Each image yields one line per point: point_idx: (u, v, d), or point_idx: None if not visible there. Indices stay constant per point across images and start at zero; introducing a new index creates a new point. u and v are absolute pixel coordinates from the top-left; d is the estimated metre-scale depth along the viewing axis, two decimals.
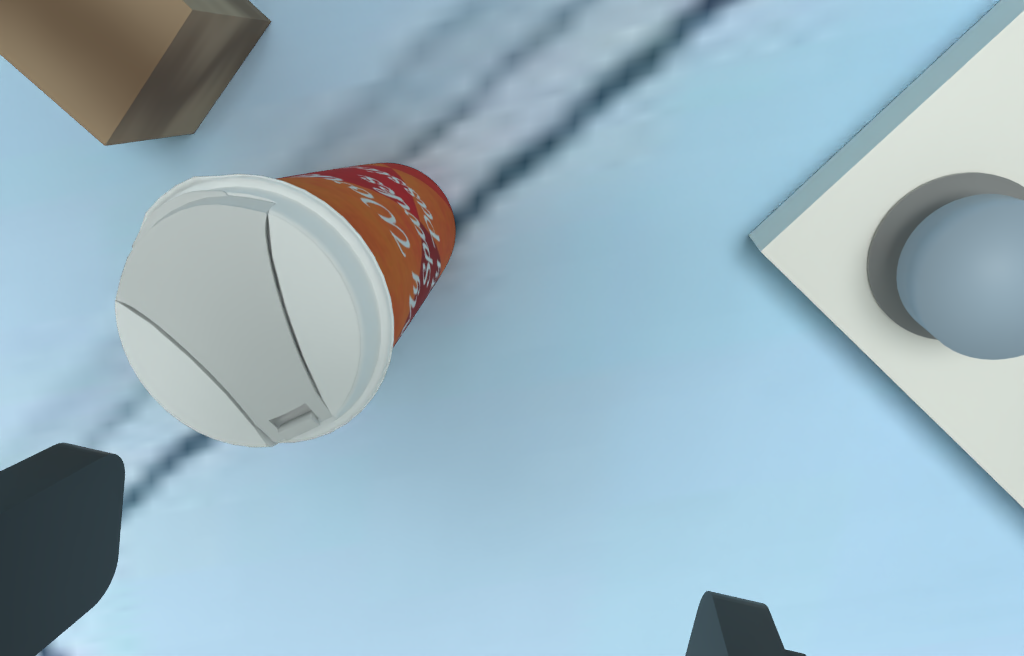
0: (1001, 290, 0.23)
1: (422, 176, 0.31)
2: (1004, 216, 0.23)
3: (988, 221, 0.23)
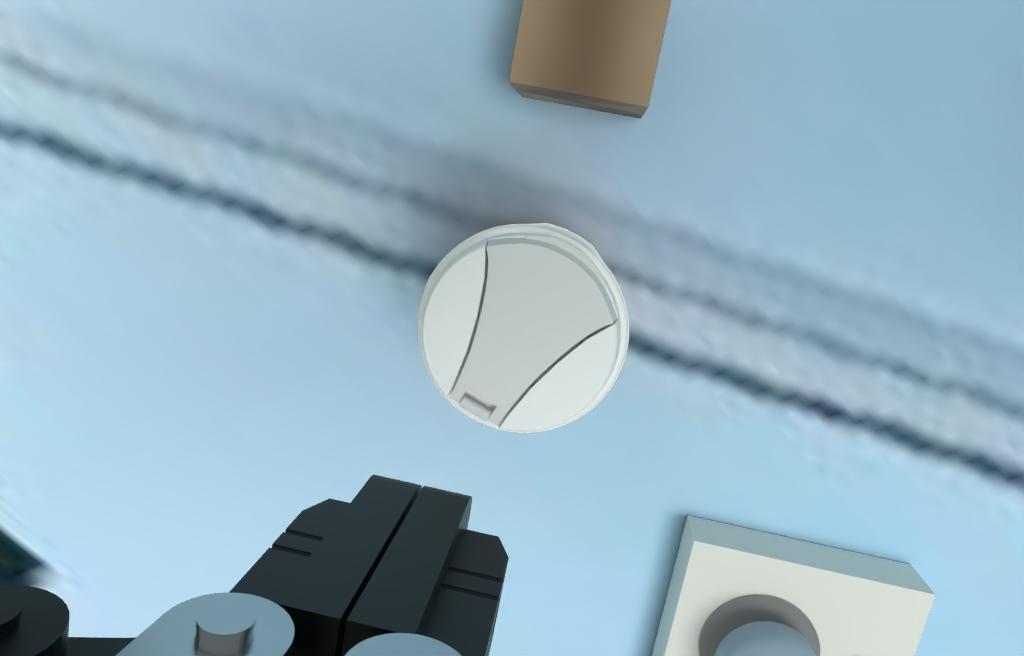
0: None
1: None
2: None
3: None
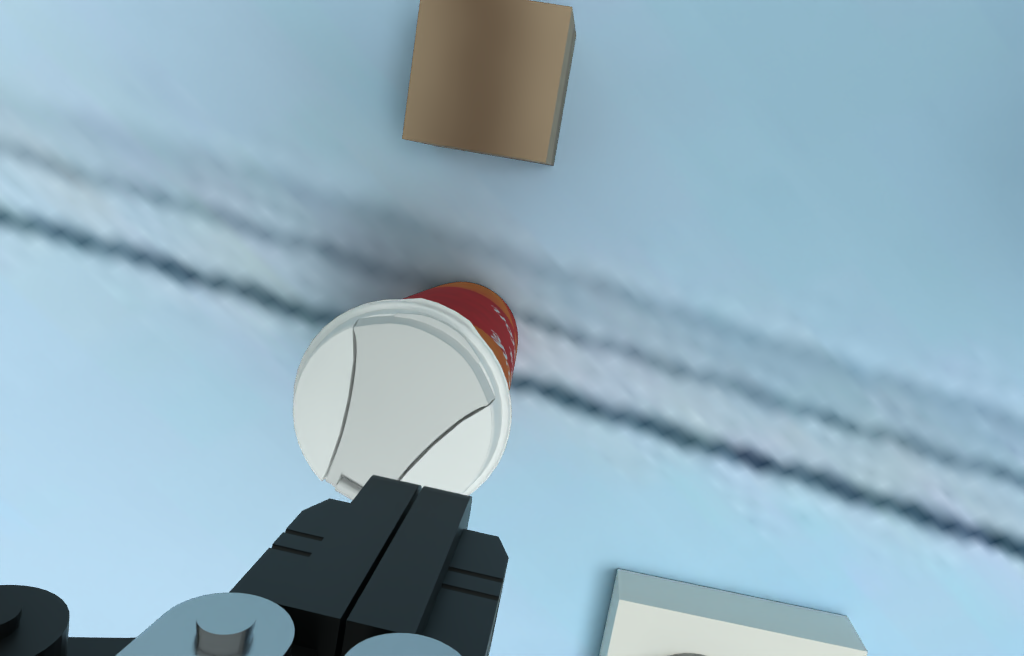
0: None
1: None
2: None
3: None
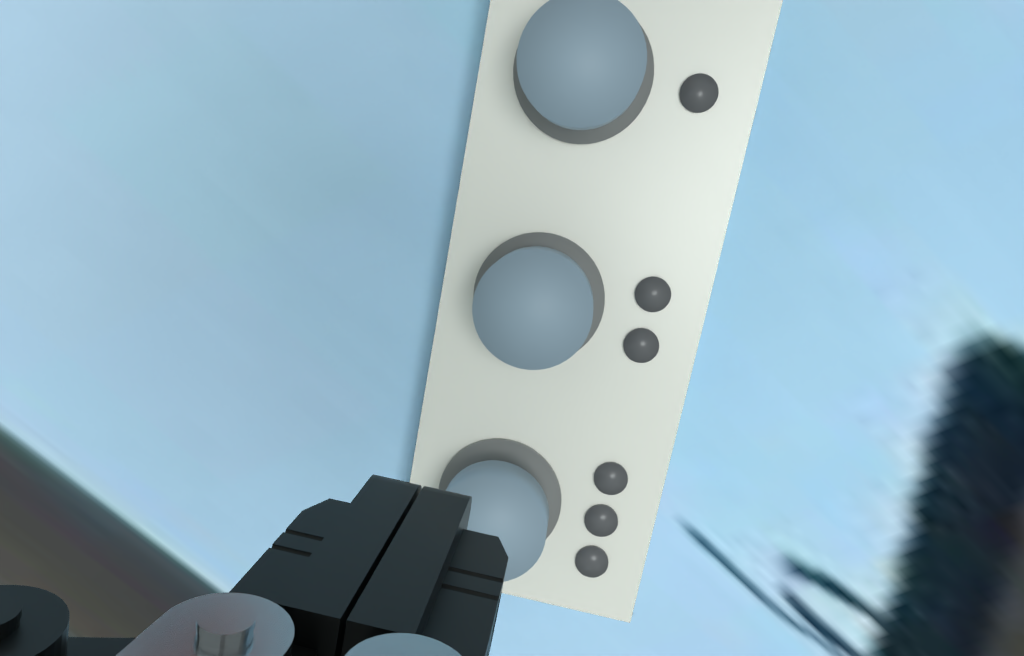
0: (575, 61, 0.29)
1: None
2: (623, 18, 0.28)
3: (614, 11, 0.28)
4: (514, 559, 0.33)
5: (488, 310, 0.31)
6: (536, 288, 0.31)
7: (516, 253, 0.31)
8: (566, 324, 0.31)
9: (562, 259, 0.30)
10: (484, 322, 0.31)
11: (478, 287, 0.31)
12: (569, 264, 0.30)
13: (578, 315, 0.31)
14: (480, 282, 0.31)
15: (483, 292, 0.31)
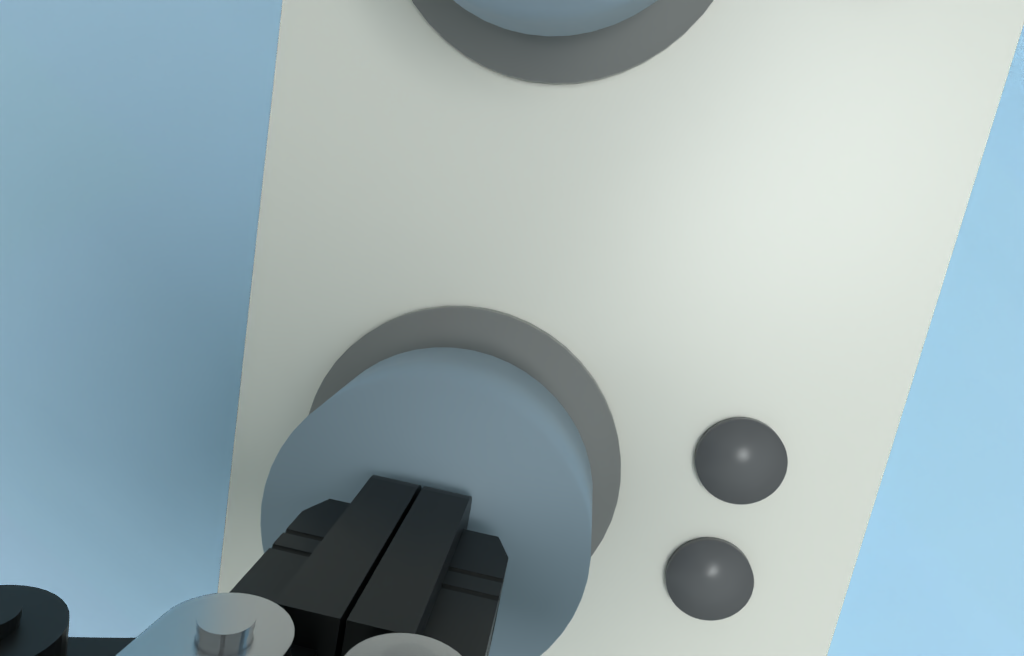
0: None
1: None
2: None
3: None
4: None
5: None
6: (431, 481, 0.11)
7: (373, 385, 0.11)
8: (516, 578, 0.11)
9: (502, 404, 0.11)
10: None
11: (273, 474, 0.11)
12: (522, 418, 0.11)
13: (549, 557, 0.11)
14: (279, 460, 0.11)
15: (288, 486, 0.11)
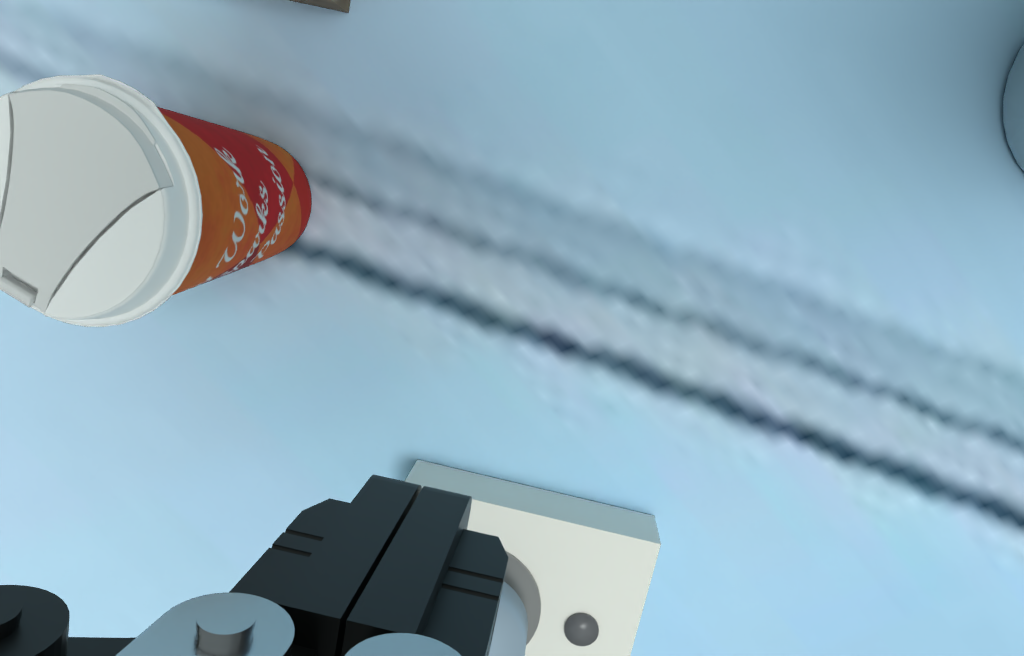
0: None
1: (306, 204, 0.35)
2: (503, 620, 0.31)
3: None
4: None
5: None
6: None
7: None
8: None
9: None
10: None
11: None
12: None
13: None
14: None
15: None
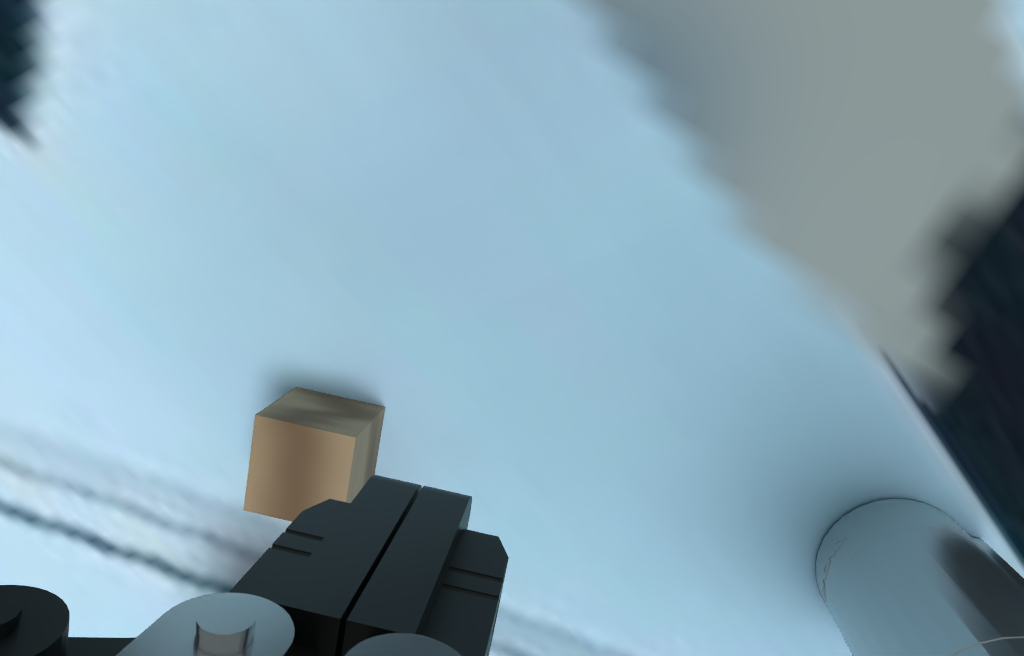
0: None
1: None
2: None
3: None
4: None
5: None
6: None
7: None
8: None
9: None
10: None
11: None
12: None
13: None
14: None
15: None
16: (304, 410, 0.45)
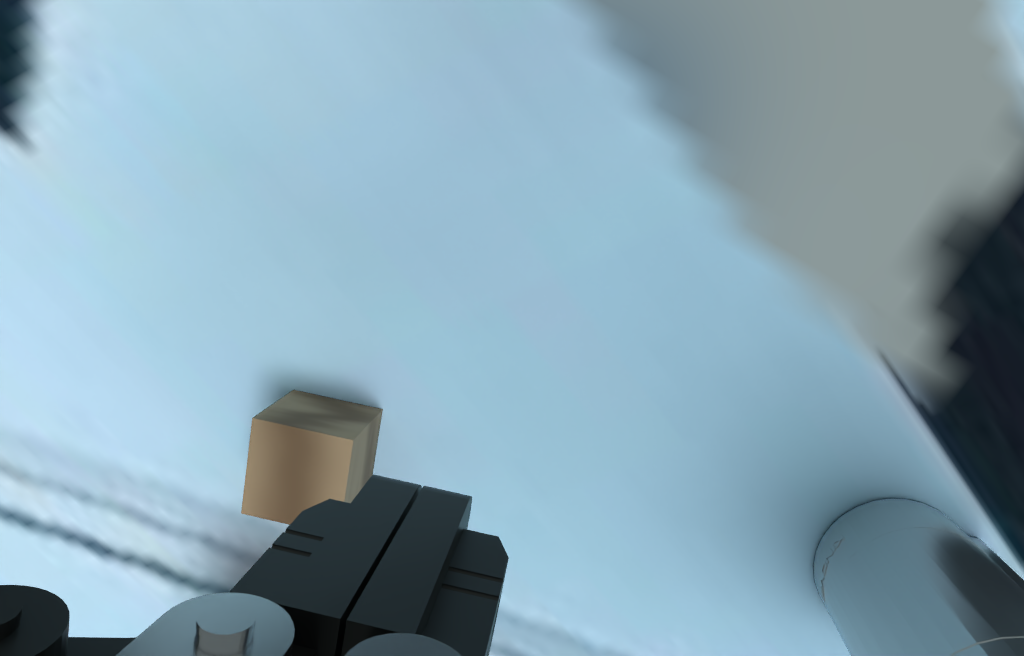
0: None
1: None
2: None
3: None
4: None
5: None
6: None
7: None
8: None
9: None
10: None
11: None
12: None
13: None
14: None
15: None
16: (301, 413, 0.45)
